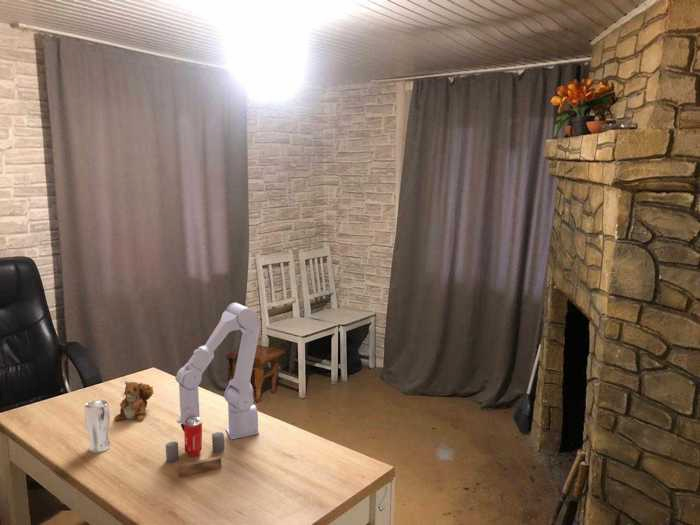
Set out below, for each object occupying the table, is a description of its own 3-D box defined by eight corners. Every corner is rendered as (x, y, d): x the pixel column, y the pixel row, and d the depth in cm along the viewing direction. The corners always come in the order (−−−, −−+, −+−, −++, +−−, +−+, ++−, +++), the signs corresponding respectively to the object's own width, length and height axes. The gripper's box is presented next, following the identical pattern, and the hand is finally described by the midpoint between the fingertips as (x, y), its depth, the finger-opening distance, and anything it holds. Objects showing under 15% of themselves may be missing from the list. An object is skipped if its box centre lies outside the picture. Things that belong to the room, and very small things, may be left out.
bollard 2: (222, 445, 175) (222, 431, 174) (225, 450, 172) (224, 436, 171) (211, 448, 173) (210, 433, 173) (213, 453, 170) (213, 438, 169)
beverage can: (197, 458, 168) (197, 428, 163) (181, 454, 168) (181, 424, 163) (204, 447, 172) (204, 417, 167) (189, 443, 173) (189, 413, 168)
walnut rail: (220, 464, 164) (219, 455, 163) (221, 467, 162) (220, 458, 162) (178, 474, 159) (178, 465, 158) (179, 477, 157) (179, 467, 157)
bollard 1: (177, 455, 169) (177, 440, 168) (179, 461, 166) (178, 446, 165) (165, 458, 168) (164, 443, 167) (167, 463, 164) (166, 448, 163)
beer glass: (116, 445, 175) (113, 401, 172) (98, 455, 169) (94, 410, 166) (101, 440, 178) (97, 397, 175) (83, 450, 172) (78, 406, 169)
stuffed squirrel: (112, 422, 190) (109, 387, 188) (133, 404, 204) (131, 371, 202) (138, 424, 189) (136, 388, 187) (158, 406, 203) (156, 373, 200)
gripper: (173, 397, 175) (175, 436, 177) (179, 416, 162) (182, 458, 164) (195, 394, 178) (197, 432, 180) (203, 412, 165) (205, 453, 167)
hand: (191, 444), depth 173 cm, fingers closed, pressing on beverage can
